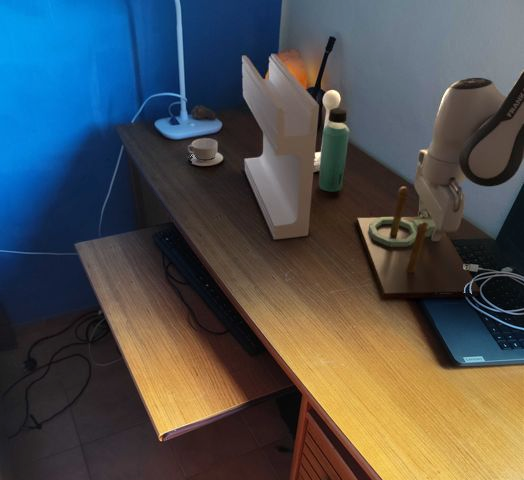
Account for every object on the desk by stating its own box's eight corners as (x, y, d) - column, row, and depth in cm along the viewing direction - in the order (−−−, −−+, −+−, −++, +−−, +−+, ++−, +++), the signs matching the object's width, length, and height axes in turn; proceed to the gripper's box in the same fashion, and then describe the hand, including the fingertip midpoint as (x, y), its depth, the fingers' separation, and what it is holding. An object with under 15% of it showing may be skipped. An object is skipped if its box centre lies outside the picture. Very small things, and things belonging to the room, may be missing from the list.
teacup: (226, 153, 137) (225, 137, 134) (219, 168, 130) (218, 152, 127) (193, 151, 138) (191, 135, 135) (184, 166, 131) (182, 149, 128)
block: (307, 235, 107) (319, 105, 87) (273, 239, 106) (277, 108, 86) (272, 168, 131) (275, 53, 110) (244, 171, 129) (241, 55, 109)
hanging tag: (429, 220, 109) (432, 210, 107) (443, 245, 102) (447, 235, 100) (365, 221, 108) (367, 212, 107) (375, 247, 101) (377, 237, 99)
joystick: (339, 176, 128) (349, 97, 113) (313, 179, 126) (320, 99, 112) (324, 159, 135) (332, 82, 121) (299, 161, 134) (305, 85, 119)
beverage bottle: (339, 199, 119) (350, 116, 104) (314, 195, 120) (321, 113, 106) (344, 187, 123) (355, 106, 109) (319, 183, 124) (327, 103, 110)
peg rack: (434, 221, 111) (450, 170, 102) (477, 296, 92) (501, 242, 83) (356, 223, 111) (364, 172, 102) (383, 299, 91) (396, 244, 82)
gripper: (480, 192, 87) (457, 254, 97) (445, 146, 102) (428, 204, 112) (447, 193, 87) (427, 254, 97) (416, 147, 101) (402, 205, 111)
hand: (428, 227), depth 104 cm, fingers open, 8 cm apart
